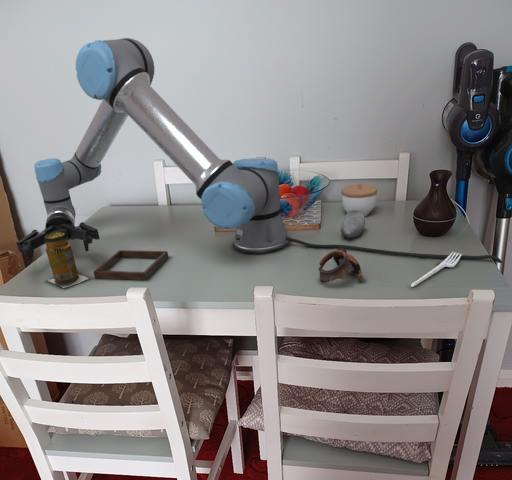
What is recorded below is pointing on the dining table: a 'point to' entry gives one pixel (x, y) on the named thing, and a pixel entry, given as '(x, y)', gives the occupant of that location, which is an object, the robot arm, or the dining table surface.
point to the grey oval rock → (353, 223)
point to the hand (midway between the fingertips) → (57, 250)
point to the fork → (439, 267)
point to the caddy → (124, 275)
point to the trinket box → (359, 198)
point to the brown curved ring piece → (339, 265)
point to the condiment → (62, 260)
